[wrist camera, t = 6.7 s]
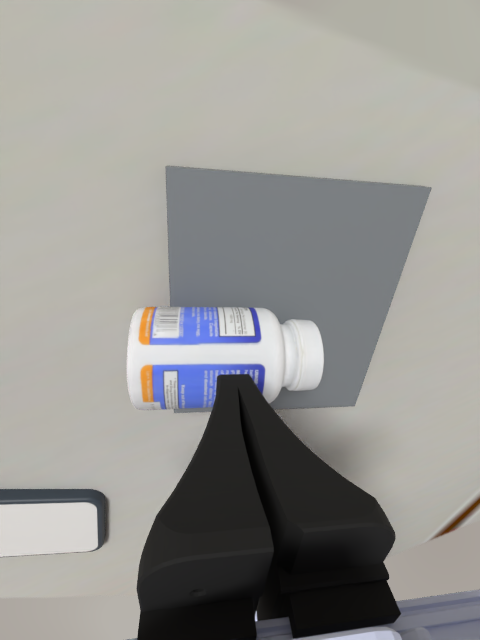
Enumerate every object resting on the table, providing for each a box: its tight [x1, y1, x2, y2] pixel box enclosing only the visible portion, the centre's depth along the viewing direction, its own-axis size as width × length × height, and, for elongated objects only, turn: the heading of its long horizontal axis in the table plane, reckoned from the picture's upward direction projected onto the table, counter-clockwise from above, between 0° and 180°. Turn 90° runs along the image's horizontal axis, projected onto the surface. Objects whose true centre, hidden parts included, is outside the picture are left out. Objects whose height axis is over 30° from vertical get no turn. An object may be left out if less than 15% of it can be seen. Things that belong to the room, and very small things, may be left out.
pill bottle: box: [127, 307, 324, 410], centre depth 17 cm, size 5×5×10 cm
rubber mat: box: [166, 166, 431, 413], centre depth 20 cm, size 14×16×1 cm
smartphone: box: [0, 489, 105, 557], centre depth 27 cm, size 9×2×16 cm
